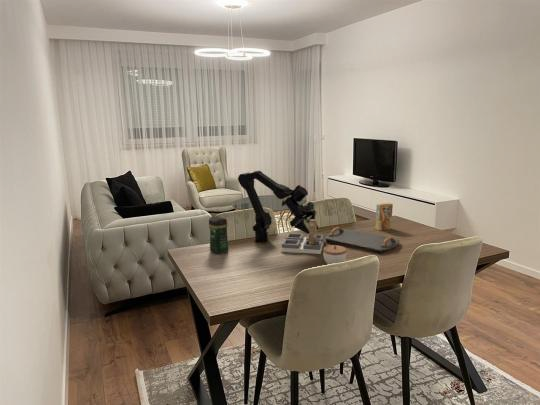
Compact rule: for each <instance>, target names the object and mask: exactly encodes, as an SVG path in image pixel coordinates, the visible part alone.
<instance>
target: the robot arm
mask: <svg viewBox="0 0 540 405" xmlns="http://www.w3.org/2000/svg"><path fill="white" fill-rule="evenodd" d="M237 180H238V183H239V185H240V187H241V188H243V189H244V191H245V192H246V194H247V197H248V198H249V202H250V204H251V206H252V209H253V211H254V213H255V218H254V220H255V224H253V226H252V231H253V232H254V235H255V237H254V238H255V239H254V242H255V243H267V242H268V241H269V231H268V229H270V226H271V225H272V222H273V221H272V217H271V214H270V212H266V211H265V209H264V208H263V206H262V202H261V200H260V198H259V195H258V193H257V191H256V189H255V180H256V181H258V182H259V183H261V184H263V185H264V186H265V187H267V188H268V189H269V190H271V191H272V193H273V195H274V196H275V197H276V198H277V199H278V200H282V201H281V207H284V206H286V207H287V209H288V210H289V211H290V215H293V216H294V217H293V218H292V219H291V220H290V221H289V226H290V227H291V228H294V229H297V230H298V231H299V230H300V231H301V232H303V233H305V234H307V235H308V234H309V233H310V232H309V228H308V227H307V226H306V224H305V221H306V223H308V224H309V220H310V219H315V220H316V215H317V211H316V210H315V204H314V203H313V202H312V201H309V202H307V203H306V205H303V204H300V202H302V201H303V200H304V199H305V198H306V197H307V196H308V195H309V193H308V190H307V189H306V188H305V187H303V186H302V185H300V184H297V186H296V187H295V188H294V189H291V188H290V187H288V186H286V185H284V184H282V183H278V182H276V181H275V180H273V178H271V177H269V176H267V175H266V174H265V173H263V172H262V170H255V171H253V172H243V173H240V174H238V177H237ZM317 230H319V226H318V224H317Z"/></svg>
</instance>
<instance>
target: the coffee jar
mask: <svg viewBox="0 0 540 405" xmlns="http://www.w3.org/2000/svg"><path fill="white" fill-rule="evenodd" d="M208 227H209V251H210V252H211V253H212V254H214V255H225V254H227V253H228V252H229V243H228V242H229V241H228V220H227V219H226V218H223V217H221V216H218V215H215V216H210V217H209V219H208Z"/></svg>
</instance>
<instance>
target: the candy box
mask: <svg viewBox="0 0 540 405" xmlns="http://www.w3.org/2000/svg"><path fill="white" fill-rule="evenodd" d="M393 206H394V205H393V203H391V202H383V203H376V207H375V208H376V209H375V210H376V211H375V229H376V230H378V231H383V230H384V231H385V230H391V229H392V223H393V221H392V220H393V209H394V208H393Z"/></svg>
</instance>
